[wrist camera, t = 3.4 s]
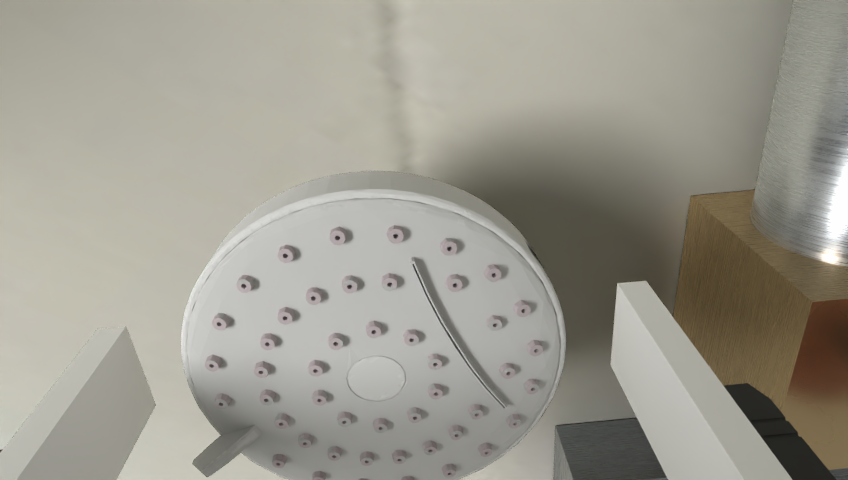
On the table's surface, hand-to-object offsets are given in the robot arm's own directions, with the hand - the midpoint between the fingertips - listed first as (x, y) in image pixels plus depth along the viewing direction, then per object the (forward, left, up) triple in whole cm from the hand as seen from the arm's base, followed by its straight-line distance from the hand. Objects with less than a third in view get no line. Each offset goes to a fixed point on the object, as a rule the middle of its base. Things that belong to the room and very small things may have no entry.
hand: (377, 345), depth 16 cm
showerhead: (0, 0, -5) cm, 5 cm away
